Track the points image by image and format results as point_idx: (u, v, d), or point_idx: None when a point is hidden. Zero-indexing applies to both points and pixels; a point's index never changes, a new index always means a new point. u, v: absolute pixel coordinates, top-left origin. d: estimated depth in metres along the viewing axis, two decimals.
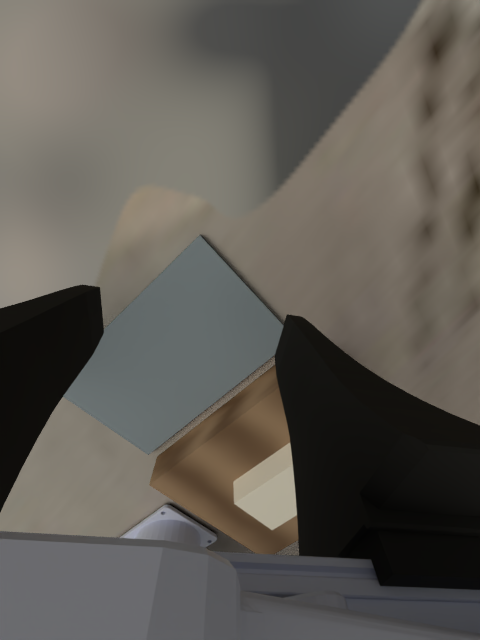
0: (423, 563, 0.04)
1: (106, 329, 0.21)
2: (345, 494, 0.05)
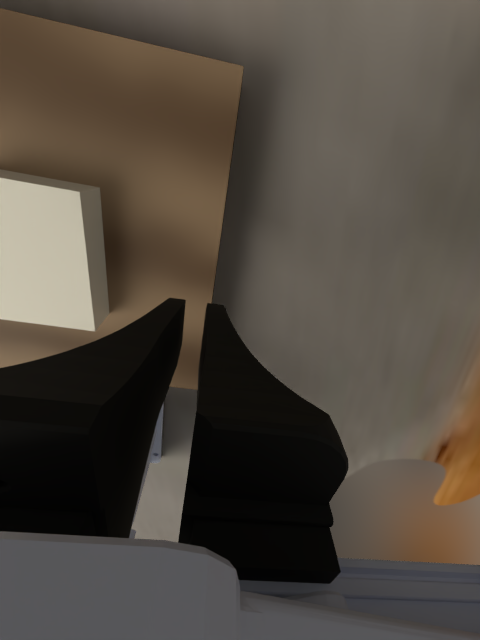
0: (232, 553, 0.04)
1: None
2: None
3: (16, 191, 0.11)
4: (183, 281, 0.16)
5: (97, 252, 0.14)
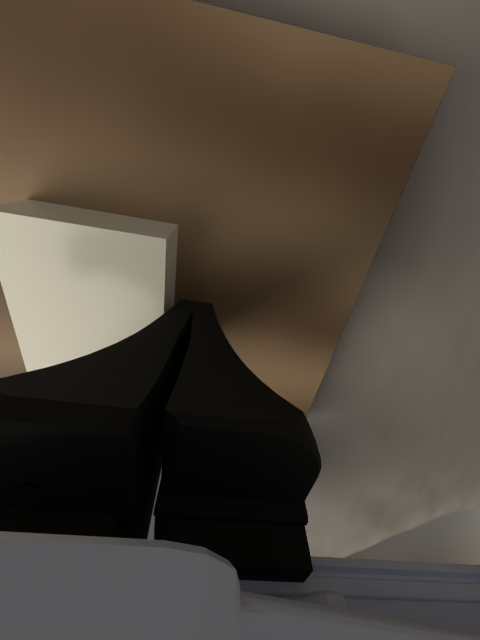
0: None
1: None
2: None
3: (75, 239, 0.08)
4: (300, 340, 0.12)
5: None
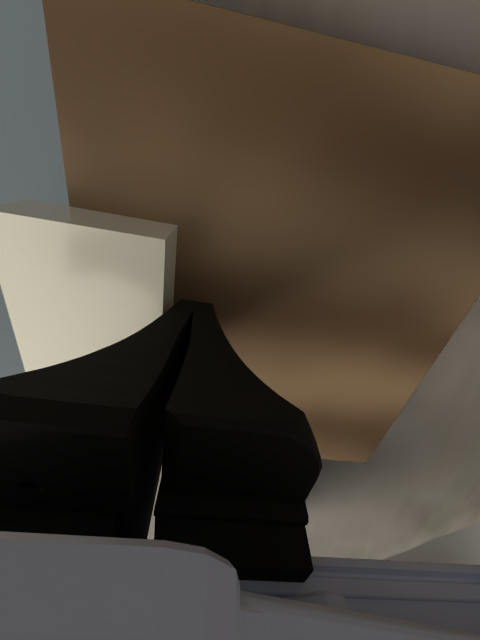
0: None
1: None
2: None
3: (75, 239, 0.08)
4: (402, 354, 0.13)
5: (168, 309, 0.10)
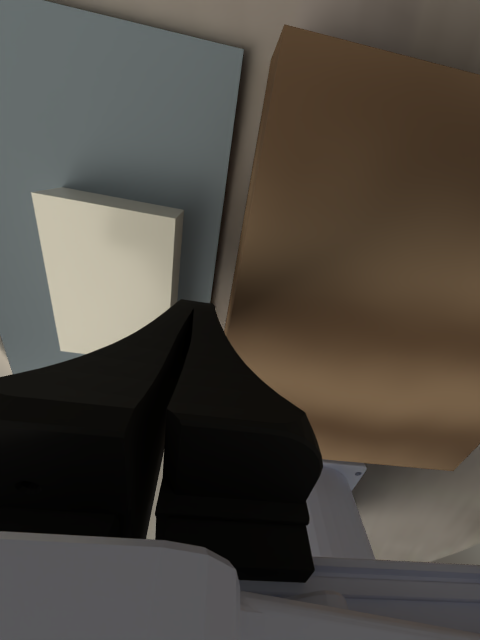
0: None
1: None
2: None
3: None
4: None
5: None
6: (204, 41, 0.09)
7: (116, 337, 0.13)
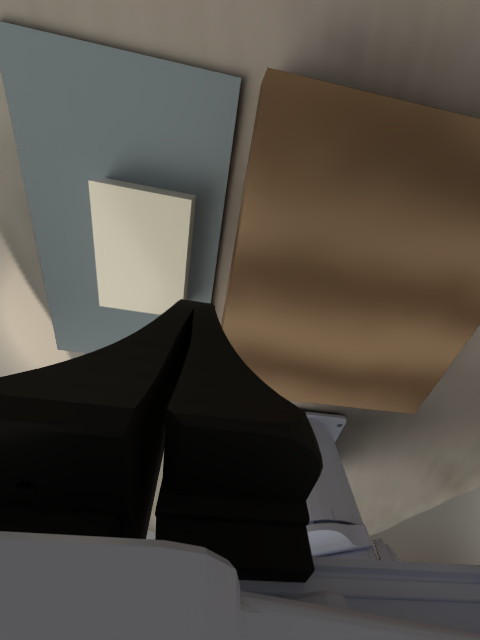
0: None
1: (40, 252, 0.17)
2: None
3: None
4: (454, 322, 0.17)
5: None
6: (213, 72, 0.13)
7: (143, 294, 0.16)
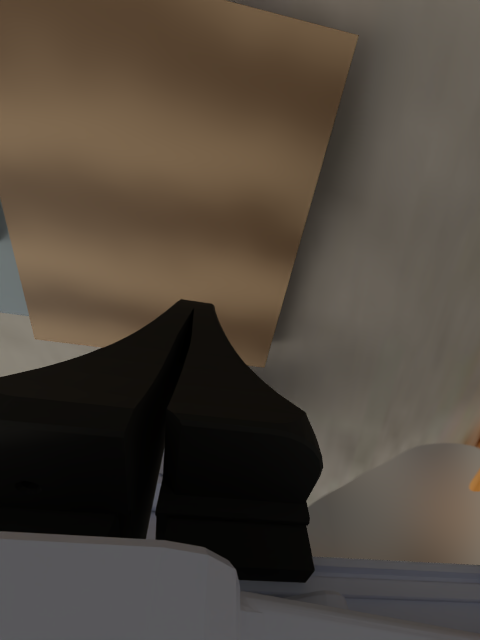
0: None
1: None
2: None
3: None
4: (266, 254, 0.16)
5: None
6: None
7: None
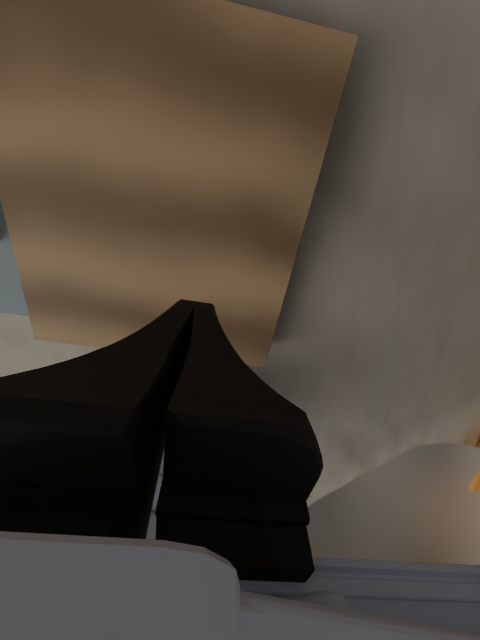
0: None
1: None
2: None
3: None
4: (266, 254, 0.16)
5: None
6: None
7: None
